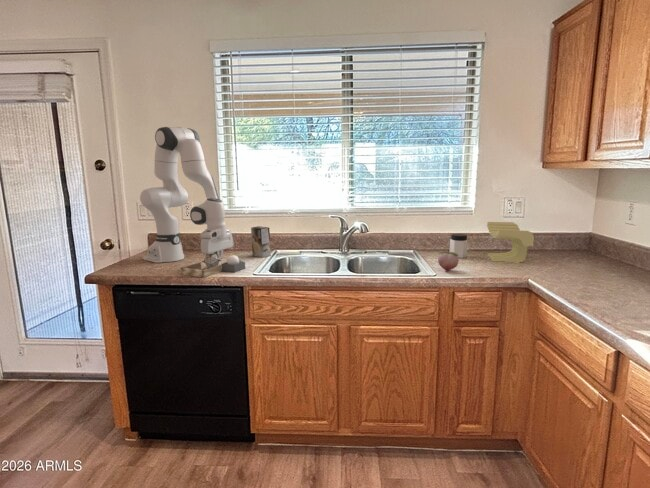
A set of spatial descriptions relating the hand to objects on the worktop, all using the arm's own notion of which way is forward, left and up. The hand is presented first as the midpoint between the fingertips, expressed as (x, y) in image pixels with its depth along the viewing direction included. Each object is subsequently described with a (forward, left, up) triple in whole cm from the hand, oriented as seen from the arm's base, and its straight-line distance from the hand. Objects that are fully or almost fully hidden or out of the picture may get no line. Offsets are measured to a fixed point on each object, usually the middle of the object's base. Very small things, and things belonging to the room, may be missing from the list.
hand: (219, 259), depth 192 cm
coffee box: (+3, +31, -4) cm, 31 cm away
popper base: (+9, -1, -4) cm, 10 cm away
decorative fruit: (+103, +40, -4) cm, 111 cm away
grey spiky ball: (-1, -4, -4) cm, 6 cm away
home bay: (-1, -12, -4) cm, 12 cm away
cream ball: (+9, -1, -4) cm, 10 cm away
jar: (+103, +73, -4) cm, 127 cm away
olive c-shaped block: (+127, +76, -4) cm, 148 cm away
